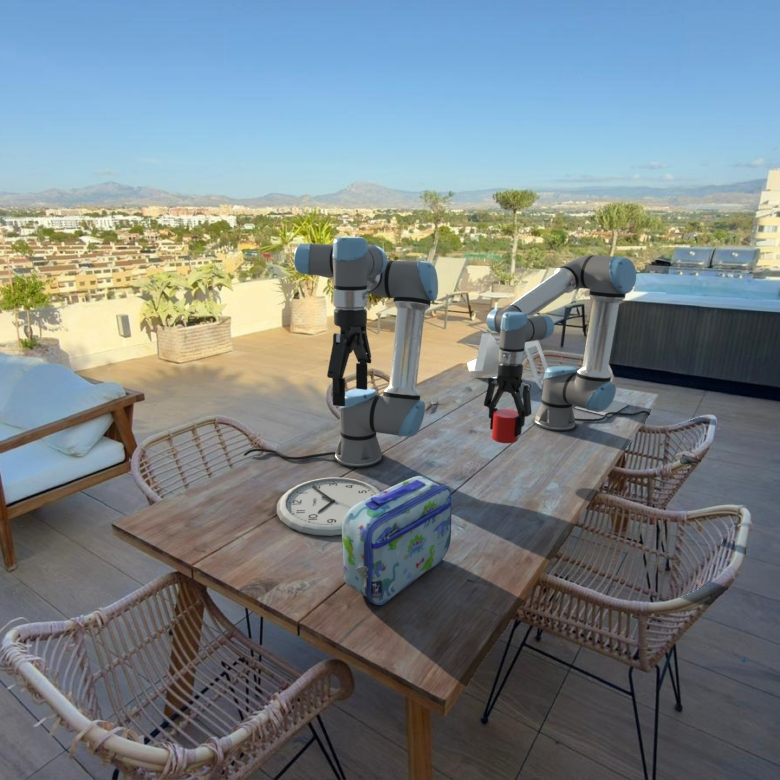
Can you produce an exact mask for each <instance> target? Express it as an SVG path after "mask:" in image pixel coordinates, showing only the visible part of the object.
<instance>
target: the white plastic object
mask: <svg viewBox="0 0 780 780" xmlns="http://www.w3.org/2000/svg"><path fill="white" fill-rule="evenodd" d="M480 337H481V338H480V342H479V346H478V347H479V348H478V351H477V355H476V358H475V359H473V360H470V361H468V362H466V365H467V369H468V373H469V374H470V375H471V376H472V377H473V378H476V377H483V376H491V375H492V376H494V375H498V364H499V348H500V339H499V340H496V339H495V338H494V336H493V335H492V334H491V333H490V332H489V333H487V332H486V333H481V336H480ZM543 351H544V350H543V348H542V346H541V343H540V340H536V341H530V342H525V349H524V359H526V357H527V360H528V363H529V367H530V369H531V372H532V375H533V379H534V382H535V384H536V385H537V386H538V388H539V389H540V390H543V385H542V382H541V380H540V377H539V374H538V371H537V368H536V365H535V361H534V358H533V355H532V354H535V353H537V352H538V355H539V358H540V360H541V364H542V367H543V369H544V371H545V370H546V369H547V368H549V366H548V363H547V359H546V357H545V354H544V352H543Z"/></svg>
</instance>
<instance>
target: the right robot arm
mask: <svg viewBox="0 0 780 780" xmlns="http://www.w3.org/2000/svg"><path fill="white" fill-rule="evenodd" d="M636 282H637V268H636V266H635V264H634V262H633V261H632V260H631V259H630V258H628V257H624V256H617V255H615V256H614V255H595V254H587V255H583V256H579V257H577V258H574V259H571V260H569V261H568V262H566V263H564V264H562V265H561V266H559V267H558V268H556V269H554V271H553V274H552V275H551V276H549V277H548V278H547V279H546V280H544V281H542V282H541V283H539V284H538V285H537V286H535V287H534V288H533V289H531V290H529V291H527V292H526V293H525V294H523V296H521V297H519V298H518V299H516V300H515V301H513V302H512V303H511V304H509V305H508V306H506V307H505V308H503V309H501V308H494V309H492V310H491V311H489V313H488V314H487V317H486V325H487V328H488V330H490V331H492V332H495V333H497V334H500V335H499V340H500V348H499V364H498V374H497V376H494V375H492V376H490V377H488V378H487V382H488V385H487V390H486V394H485V397H484V401H483V406H484V407H487V408H488V418H489V419H490V424H489V430H492V429H493V415H494V411H495V410H499V409H498V408H497V405H498V403H499V401H500V399H501V398H502V396H503V394H504V393H508V394H510V395H511V397H512V399H513V402H514V405H515V407H516V408H515V409H516V411H517V412H518V415H519V416H517V417H516V426H515V436H516V437H517V436H518V437H519V436H520V435H522V427H524V426H525V422H526V418H527V417H529V416H530V415H532V402H531V401H532V400H531V388H532V384H530V383H525V382H523V379H522V378H523V372H524V371H523V370H524V364H523V363H524V362H525V358H524V349H525V342H530V341H536V340H538V341H543V340H545V339H548V338H550V337H551V336H552V335H553V334H554V331H555V323H554V320H553V318H552V317H550V316H549V315H546V314H538V313H539V312H541V311H543V309H545V308H546V307H547V306H549V305H550V304H553V302H555V301H556V300H558V299H559V298H560V297H562V296H563V295H564V294H571V293H572V292H573V291H575V290H577V289H579V290H580V289H584V290H585V289H586V290H589V295H588V296H589V297H590V299H592V305H591V310H590V317H589V321H588V322H589V323H588V328H587V329H588V330H587V335H586V341H585V348H584V354H583V359H582V366H581V367H580V368H579V369H578V368H577V367H576V366H571V365H570V366H569V365H557V366H556V365H555V366H550V367H549V366H548V368H547V369H546V370H544V375H543V378H542V379H543V381H542V382H543V383H542V390H541V391H542V394H541V402H540V405H539V407H538V410H537V411H536V413H535V417H534V424H535V425H536V426H537V427H539V428H542V429H544V430H549V431H556V432H567V431H572V430H574V429H575V428H576V421H577V422H599V421H603V420H605V419H606V418H607V417H608V416H607V415H609V414H613V415H621V416H637V415H641V414H647V415H649V416H651V413H650V412H649V411H647V410H640V411H638V412H633V413H631V412H630V413H629V412H620V411H618V412H609V413H606V414H605V415H603V416H602V417H601V418H600V417H599V418H577V417H576V416H575V413H574V407H576V406H578V407H582V408H585V409H587V410H591V411H595V412H601V411H603V410H605V409H606V408H607V407H608V406H609V405H610V404H611V403H612V401H614V400H615V399H614V398H615V396H616V392H617V388H616V384H615V383H614V382H613V381H611V379H612V374H611V373H610V372H609V364H610V360H611V353H612V348H613V341H614V336H615V330H616V326H617V325H616V324H617V320H618V319H617V318H618V313H619V307H620V303H621V302H623V301H624V300H625V299H626V296H627V294H630V292H632V291H633V289H634V287H635V285H636ZM537 314H538V315H537ZM496 384H498V387H497V389H496V392H495V388H496ZM520 388H521V389H520ZM521 391H522V395H521ZM494 392H495V394H494ZM521 396H522V397H521ZM573 406H574V407H573ZM575 417H576V418H575Z"/></svg>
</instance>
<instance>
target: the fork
mask: <svg viewBox="0 0 780 780" xmlns="http://www.w3.org/2000/svg"><path fill="white" fill-rule="evenodd" d="M438 401H439V398H438V397H435V396H433V398H432V399H431V401H430V404H429V405H428V406H427V408H425V412H427V411H428V410H429V409H431V408H432V406H433V405H437V404H438Z"/></svg>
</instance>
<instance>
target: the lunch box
mask: <svg viewBox="0 0 780 780" xmlns="http://www.w3.org/2000/svg"><path fill="white" fill-rule="evenodd" d="M452 511H453V510H452V491H451V489H450V487H449V486H447V485H444V484H442V485H440V484H437V483H436V482H434V481H432V480H430V479H428V478H427V477H425V476H422V475H416V476H413V477H411V478H408V479H406V480H403V481H401V482H399V483H397V484H395V485H393V486H390V487H388V488H386V489H384V490H382V491H381V492H380V493H378V494H376V495H374V496H372V497H370V498H368V499H366V500H364V501H362V502H360V503H358V504H356V505H354V506H353V507H352V508H351V509H350V510H349V511H348V512H347V514H346V516H345V518H344V521H343V525H342V535H341V543H342V544H341V545H342V569H343V578H344V583H345V585H346V586H347V587H349V588H351V589H352V590H354V591H356V592H357V593H360V594H361V595H362V596H363V597H365V598H367V601H369V603H372V604H373V605H376V606H383V605H385V604H386V603H388V602H389V601H390V600H391V599H392V598H394V597H395V596H396V595H397V594H399V593H400V592H401V591H403V590H404V589H406V588H407V587H408V586H410V585H411V584H413V583H414V582H416V580H417V579H418V578H420V576H422V575H423V574H425V573H426V572H428V571H430V570H432V569H433V568H435V567H436V566H438V565H439V564H440V563H441V562H442V561H443V560H444V558H445V557H446V555H447V552H448V551H449V548H450V544H451V539H452V515H453V514H452Z"/></svg>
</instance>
